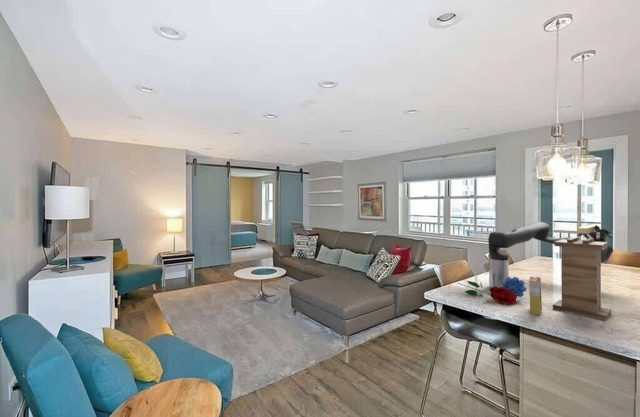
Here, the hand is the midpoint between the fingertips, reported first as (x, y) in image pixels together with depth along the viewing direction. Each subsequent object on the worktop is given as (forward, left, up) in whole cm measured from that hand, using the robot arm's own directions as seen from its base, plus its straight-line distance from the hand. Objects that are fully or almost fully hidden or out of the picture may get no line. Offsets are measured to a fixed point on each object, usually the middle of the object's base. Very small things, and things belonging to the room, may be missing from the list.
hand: (591, 226), depth 145 cm
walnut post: (-14, -18, -38) cm, 44 cm away
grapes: (-36, -4, -38) cm, 53 cm away
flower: (-51, -5, -38) cm, 64 cm away
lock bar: (-5, -6, -2) cm, 8 cm away
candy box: (-34, -22, -38) cm, 56 cm away
